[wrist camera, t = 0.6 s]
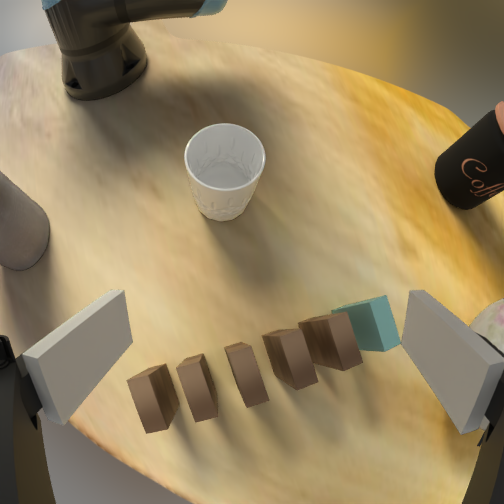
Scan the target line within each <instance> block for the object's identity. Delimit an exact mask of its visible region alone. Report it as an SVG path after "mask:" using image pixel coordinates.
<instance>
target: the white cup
mask: <svg viewBox="0 0 504 504" xmlns="http://www.w3.org/2000/svg"><path fill="white" fill-rule="evenodd" d="M184 160H185V165H186V169H187V174H188V178H189V183H190V187H191V190H192V193H193V196H194V199H195V202H196V204H197V206H198V209H199V211H200V212H201V213H203V214H204V215H205V216H206V217H207V218H209V219H213V220H216V221H220V222H221V221H227V220H233V219H234V218H236V217H237V216H239V215H240V214H242V213H243V211H244V210H245V208H246V206H247V204H248V202H249V201H250V199H251V197H252V195H253V193H254V190H255V188H256V186H257V183H258V181H259V178H260V176H261V173H262V171H263V169H264V166H265V160H266V155H265V150H264V147H263V145H262V143H261V141H260V140H259V139H258V137H257V136H256V135H255V134H254V133H252V132H251V131H249V130H248V129H246V128H244V127H242V126H239V125H235V124H229V123H221V124H214V125H210V126H208V127H205V128H203V129H201V130H200V131H198V132H197V133H196V134H195V135H194V136H193V137H192V138H191V139H190V141H189V142H188V144H187V146H186V149H185V155H184Z"/></svg>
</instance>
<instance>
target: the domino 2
mask: <svg viewBox="0 0 504 504" xmlns="http://www.w3.org/2000/svg"><path fill="white" fill-rule="evenodd" d="M176 369H177V372H178V375H179V378H180V381H181V384H182V387H183V390H184V393H185V396H186V398H187V401H188V404H189V407H190V409H191V412H192V415H193V417H194V420H195V422H200V421H204V420H207V419H211V418H215V417H218V403H217V393H216V390H215V387H214V384H213V381H212V378H211V375H210V372H209V369H208V367H207V364H206V361H205V357H204V354H199V355H196V356H192V357H189V358H186V359H185V360H184V361H183V362H182V363H181V364H180V365H179V366H178V367H177V368H176Z"/></svg>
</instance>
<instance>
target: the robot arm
mask: <svg viewBox="0 0 504 504" xmlns="http://www.w3.org/2000/svg"><path fill="white" fill-rule="evenodd" d="M226 3H227V0H42V5H43V7H42V8H43V10H45V13H46V16H47V18H48V21H49V23H50V26H51V28H52V31H53V33H54V36H55V38H56V41H57V43H58V45H59V48H60V50H61V53H62V81H63V84H64V86H65V88H66V90H67V92H68V93H69V94H70V95H71V96H72V97H74V98H76V99H80V100H95V99H100V98H104V97H107V96H110V95H112V94H115V93H117V92H119V91H121V90H122V89H124V88H126V87H127V86H129V85H130V84H131V83H133V82H134V81H135V80H136V79H137V78H138V77H139V76H140V75H141V73H142V72H143V70H144V68H145V66H146V62H147V57H146V51H145V47H144V45H143V43H142V42H141V40H140V39H139V37H138V36H137V34H136V33H135V32H134V30H133V29H132V27H131V26H130V22H138V21H146V20H156V19H167V18H182V17H189V18H192V17H196V16H206V15H214V14H216V13H219V12H220V11H222V10H223V8H224V7H225V5H226ZM132 343H133V340H132V335H131V330H130V324H129V318H128V312H127V306H126V299H125V292H124V290H109V291H108V292H106V293H105V294H104V295H102V296H101V297H99V298H98V299H96V300H95V301H94V302H92V303H91V304H89V305H88V306H87V307H85V308H84V309H82V310H81V311H80V312H78V313H77V314H75V315H74V316H73V317H71V318H70V319H68V320H67V321H66V322H64V323H63V324H62V325H60V326H59V327H57V328H56V329H55V330H53V331H52V332H51V333H49V334H48V335H46V336H45V337H44V338H42V339H41V340H40V341H38V342H37V343H36V344H34V345H33V346H32V347H30V348H29V349H28V350H26V351H25V352H24V353H22V354H21V355H20V356H19V357H17V358H16V359H15V356H14V353H13V350H12V347H11V344H10V341H9V338H8V337H7V336H5V335H0V504H56V502H55V498H54V494H53V490H52V486H51V481H50V476H49V471H48V466H47V461H46V455H45V449H44V443H43V436H42V428H41V420H40V418H39V416H38V413H37V412H38V411H39V410H40V409H41V408H43V410H44V412H45V414H46V416H47V419H48V420H50V421H53V422H55V423H58V424H61V425H64V424H65V423H66V422H67V421H68V420H69V418H70V417H71V416H72V415H73V413H74V412H75V411H76V410H77V408H78V407H79V406H80V405H81V404H82V402H83V401H84V400H85V399H86V397H87V396H88V395H89V394H90V393H91V391H92V390H93V389H94V388H95V387H96V385H97V384H98V383H99V382H100V380H101V379H102V378H103V377H104V376H105V375H106V373H107V372H108V371H109V370H110V369H111V367H112V366H113V365H114V364H115V363H116V361H117V360H118V359H119V358H120V357H121V356H122V354H123V353H124V352H125V351H126V350H127V348H128V347H129V346H130V345H131V344H132ZM401 345H402V346H403V348H404V349H405V351H406V352H407V353H408V355H409V356H410V358H411V359H412V361H413V362H414V364H415V365H416V366H417V368H418V369H419V371H420V372H421V374H422V375H423V377H424V378H425V380H426V381H427V383H428V384H429V386H430V387H431V389H432V390H433V392H434V393H435V395H436V396H437V398H438V399H439V401H440V402H441V404H442V406H443V407H444V409H445V410H446V412H447V413H448V415H449V417H450V418H451V420H452V421H453V423H454V425H455V426H456V428H457V429H458V431H459V433H460V434H465V433H468V432H471V431H474V430H477V429H478V428H479V426H480V424H481V422H482V420H483V418H484V416H486V418H487V419H488V420H489V424H488V426H487V428H486V430H485V432H484V434H483V436H482V438H481V440H480V441H479V443H478V445H477V446H479V447H480V445H481V444H482V445H481V449H480V452H479V456H478V459H477V462H476V466H475V469H474V472H473V475H472V478H471V480H470V483H469V486H468V489H467V491H466V494H465V497H464V499H463V502H462V504H504V353H503V352H502V351H501V350H498V348H497V347H496V346H495V345H492V343H491V342H490V341H489V340H488V339H487V338H486V337H484V336H482V335H480V334H478V333H476V332H474V331H473V330H472V329H471V328H469V327H468V326H467V325H466V324H465V323H464V322H462V321H461V320H460V319H459V318H458V317H456V316H455V315H454V314H453V313H452V312H450V311H449V310H448V309H447V308H446V307H444V306H443V305H442V304H441V303H439V302H438V301H437V300H436V299H435V298H433V297H432V296H431V295H430V294H428V293H427V292H426V291H425V290H412V291H410V292H409V299H408V306H407V313H406V319H405V325H404V331H403V336H402V342H401Z"/></svg>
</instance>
